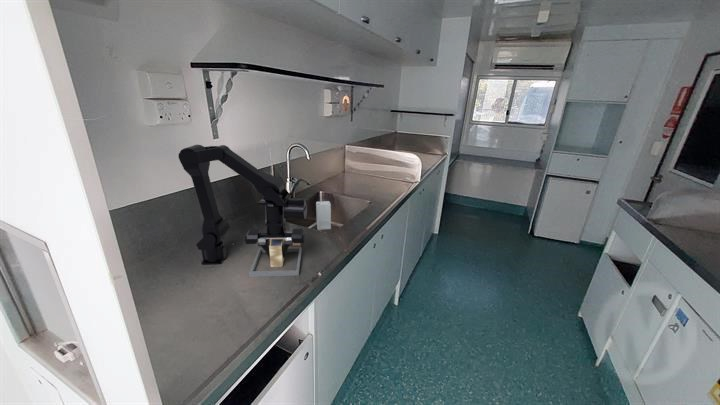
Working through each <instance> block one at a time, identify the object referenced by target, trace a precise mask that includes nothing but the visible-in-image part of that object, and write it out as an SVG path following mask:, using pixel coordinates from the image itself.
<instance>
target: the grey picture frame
mask: <svg viewBox="0 0 720 405" xmlns="http://www.w3.org/2000/svg"><path fill="white" fill-rule="evenodd" d="M302 248H303V247H301V246H300V247H288V249H287V251H286V253H292V252H293V253H298V254H297V255H298V256H297V263H296V269H294V270H290V269H288V270H287V269H286V270H255V269H256V267H257V265H258V262H259V260H260V257H261V254H263V253H266V252H265V250H264V249H263V248H262V247H259V248H258V249H257V251H256V254H255V256H254V259H253V261H252V264H251V267H250V270H249V272H248V275H249V277H250V278H255V277H256V278H257V277H285V276H287V277H288V276H289V277H291V276H292V277H294V276H299V275H300V268H301V262H302V261H301V260H302V253H303V249H302ZM266 254H267V253H266Z"/></svg>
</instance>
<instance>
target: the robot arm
mask: <svg viewBox="0 0 720 405" xmlns="http://www.w3.org/2000/svg"><path fill="white" fill-rule="evenodd" d="M178 160H179V162H180V164H181V166H182V168H183V170H184V172H186V173H187V174H188V175H189V176H190V177H191V181H192V184H193V187H194V188H193V189H194V190H195V191H194V192H195V194H196V197H197V198H196V199H197V200H198V205H199V207H200V211H201V214H202V220H203V221H202V226H201V232H202V233H201V234H202V238H201V239H200V240H199V241H198V242H197V243H196V247H197V249H198V250H200V251H201V255H202V261H201V265H222V263H223V262H224V260H225V259H226V256H227V251H226V250H227V249H226V245H224V242H223V241H224V239H225V238H226V236H227V235H228V234H229V233H230V232H229V231H230V230H229V229H230V228H231V226H230V224H229V219H228V217H223V216H222V215H221V214H220V212H219V209H218V208H219V207H218V204H217V201H216V200H217V199H216V197H215V194H214V190H213V187H212V183H211V179H210V174H209V172H210V171H209V170H210V165H211V162H213V161H214V162H215V161H219V162H221V163H222V164H223V165H225V166H226V167H228V168H229V169H231V170H232V171H233V172H235V173H236V174H237V175H239V176H241V177H242V178H243V179H245V180H247V182H249V183H251V184H252V185H253V187H254V188H255V190H256V192H257V193H258V194H259V195H260V196H262V198H261V199H260V200H259V202H257V205H258V206H264V213H265V218H264V225H265V227H266V232H262V229H261V228H258V229H256V228H250V229H249V230H248V231H247V232H246V234H245V245H255V244H257V246H258V247H260V248H263V249H264V250H265V252H266V254H267V256H268V257H269V259H270V251H269V245H270V239H283V238H284V244H283V258H284V259H285V258H286V254H287V252H286V251H287V249H288V247H289V246H290V245H293V243H301V244H303V243H304V242H305V232H306V231H305V229H304V228H293V229H292V231H286V230H287V227H286V220H287V219H295V220H298V219H299V220H306V219H307V215H308V214H307V213H308V205H307V202H306V198H305V197H304V198H303V197H299V198H296V197H295V198H294V197H292V195H291V193H290V192H289V191H288V190H287V189H286V188H285V184H284V181H282V180H281V179H280V178H278V177H276V176H274V175H272V174H269V173H265V172H263V171H262V170H260V169H258V168H257V167H255V166H254V165H253V164H251V163H249V161H247V160H246V159H244V158H243V157H241V156H240V155H239V154H237V153H236V152H235V151H233V150H232V149H230V147H229V146H227V145H225V144H222V145H221V144H220V145H210V146H209V145H208V146H203V145H202V144H194V145H191V146H188V147H184V148H181V150H180V151H179V153H178ZM286 218H287V219H286ZM285 231H286V232H285Z"/></svg>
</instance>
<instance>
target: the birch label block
mask: <svg viewBox="0 0 720 405" xmlns="http://www.w3.org/2000/svg"><path fill="white" fill-rule="evenodd" d="M283 244H284V241H283V239H272V240H271V243H270V245H269V251H270V258H269V261H270V262H269V263H270V267H271V268H281V267H283V266H284V262H285V257H284V258H283Z"/></svg>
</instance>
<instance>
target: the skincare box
mask: <svg viewBox="0 0 720 405" xmlns="http://www.w3.org/2000/svg"><path fill="white" fill-rule="evenodd" d="M315 207H316V208H315V212H316V213H315V214H316V228H317V230H318V231H321V230H331V229H332V209H331V208H332V204H331V202H330V201H329V200H323V201H316V202H315Z"/></svg>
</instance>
